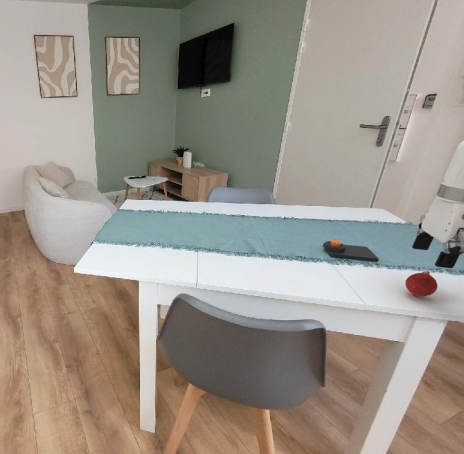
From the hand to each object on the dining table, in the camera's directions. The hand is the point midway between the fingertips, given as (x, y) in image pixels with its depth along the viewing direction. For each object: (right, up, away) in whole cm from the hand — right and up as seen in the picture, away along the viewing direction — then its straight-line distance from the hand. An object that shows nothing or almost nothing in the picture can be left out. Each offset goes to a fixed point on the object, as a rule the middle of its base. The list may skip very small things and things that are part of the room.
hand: (430, 257), depth 75 cm
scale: (+2, -1, +27) cm, 27 cm away
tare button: (-3, +1, +27) cm, 28 cm away
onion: (+1, -11, +5) cm, 12 cm away
